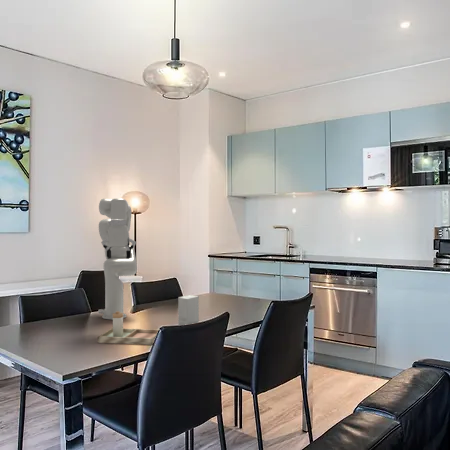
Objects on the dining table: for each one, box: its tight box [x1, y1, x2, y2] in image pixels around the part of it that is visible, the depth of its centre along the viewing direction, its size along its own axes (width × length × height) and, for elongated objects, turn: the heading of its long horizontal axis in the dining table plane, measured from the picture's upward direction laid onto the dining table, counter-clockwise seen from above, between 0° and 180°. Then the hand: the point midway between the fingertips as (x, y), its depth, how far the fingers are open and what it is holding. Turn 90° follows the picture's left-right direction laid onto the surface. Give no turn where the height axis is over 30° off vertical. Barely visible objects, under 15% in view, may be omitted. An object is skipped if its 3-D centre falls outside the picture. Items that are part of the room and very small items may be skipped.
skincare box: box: [177, 294, 200, 326], centre depth 221 cm, size 8×7×16 cm
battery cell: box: [112, 311, 124, 337], centre depth 203 cm, size 4×4×11 cm
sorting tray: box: [97, 327, 159, 346], centre depth 202 cm, size 24×16×2 cm, turn 82°
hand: (118, 258), depth 226 cm, fingers open, 9 cm apart
